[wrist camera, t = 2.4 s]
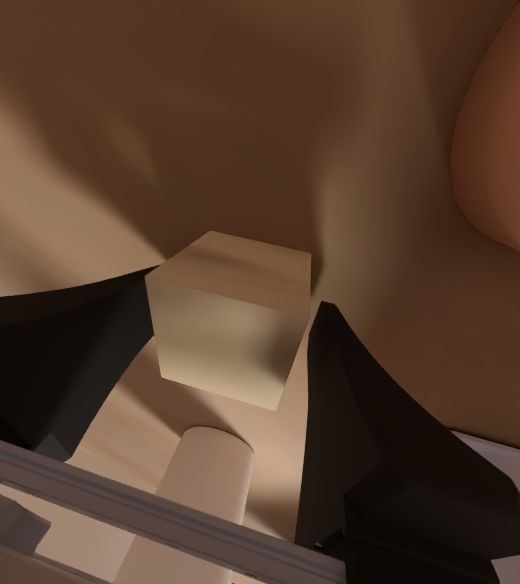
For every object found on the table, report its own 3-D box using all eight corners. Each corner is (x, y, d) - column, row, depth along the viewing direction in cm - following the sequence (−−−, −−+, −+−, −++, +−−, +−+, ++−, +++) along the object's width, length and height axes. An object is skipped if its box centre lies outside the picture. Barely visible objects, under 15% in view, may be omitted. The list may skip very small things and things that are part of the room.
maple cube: (287, 329, 13) (275, 411, 9) (208, 309, 13) (161, 377, 9) (311, 252, 10) (309, 318, 6) (211, 230, 11) (144, 276, 6)
